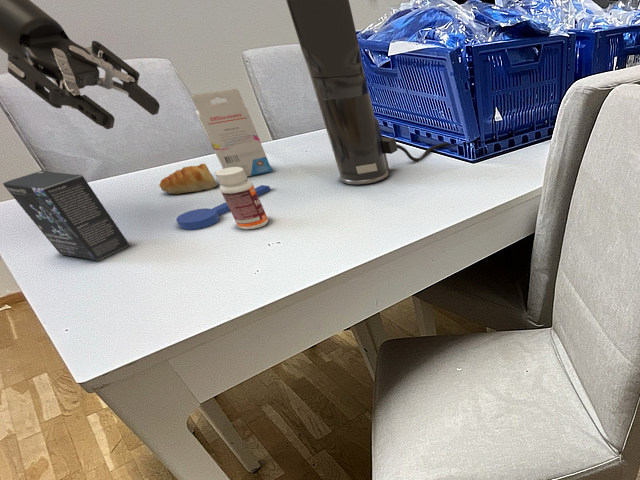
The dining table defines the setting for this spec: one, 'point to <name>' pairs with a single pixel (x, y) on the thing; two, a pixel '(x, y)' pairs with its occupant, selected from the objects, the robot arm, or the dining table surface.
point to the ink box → (231, 131)
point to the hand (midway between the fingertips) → (135, 116)
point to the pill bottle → (241, 198)
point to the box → (68, 214)
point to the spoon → (208, 214)
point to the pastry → (188, 180)
